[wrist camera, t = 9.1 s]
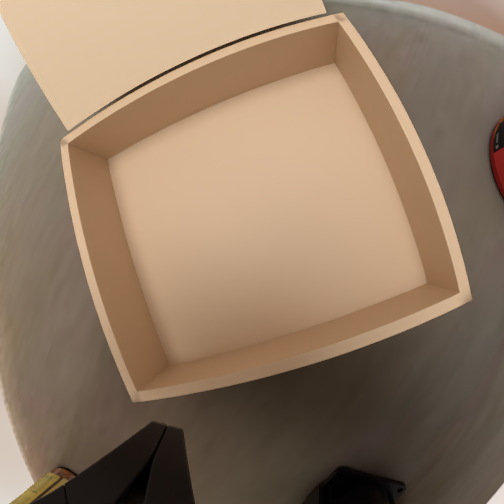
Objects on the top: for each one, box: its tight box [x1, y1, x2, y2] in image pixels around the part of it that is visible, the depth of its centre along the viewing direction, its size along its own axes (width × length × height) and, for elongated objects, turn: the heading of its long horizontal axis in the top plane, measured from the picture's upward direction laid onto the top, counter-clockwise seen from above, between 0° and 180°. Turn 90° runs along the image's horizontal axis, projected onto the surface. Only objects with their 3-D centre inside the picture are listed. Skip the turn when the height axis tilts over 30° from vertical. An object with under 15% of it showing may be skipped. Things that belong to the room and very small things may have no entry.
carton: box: [60, 13, 472, 403], centre depth 16 cm, size 16×18×5 cm
